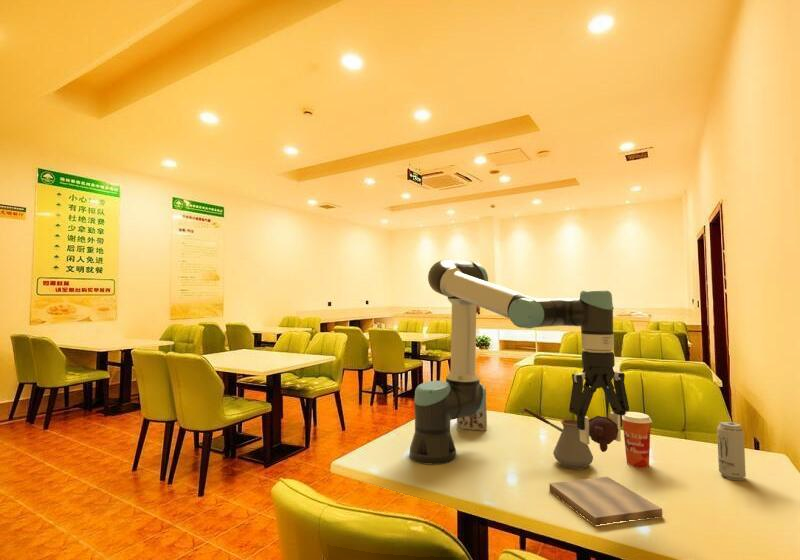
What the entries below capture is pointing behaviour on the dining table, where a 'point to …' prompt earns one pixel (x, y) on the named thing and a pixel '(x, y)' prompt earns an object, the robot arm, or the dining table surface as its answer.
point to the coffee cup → (637, 438)
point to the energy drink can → (731, 450)
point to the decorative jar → (474, 420)
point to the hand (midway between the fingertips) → (600, 441)
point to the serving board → (604, 500)
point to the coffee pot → (569, 445)
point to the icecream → (602, 431)
